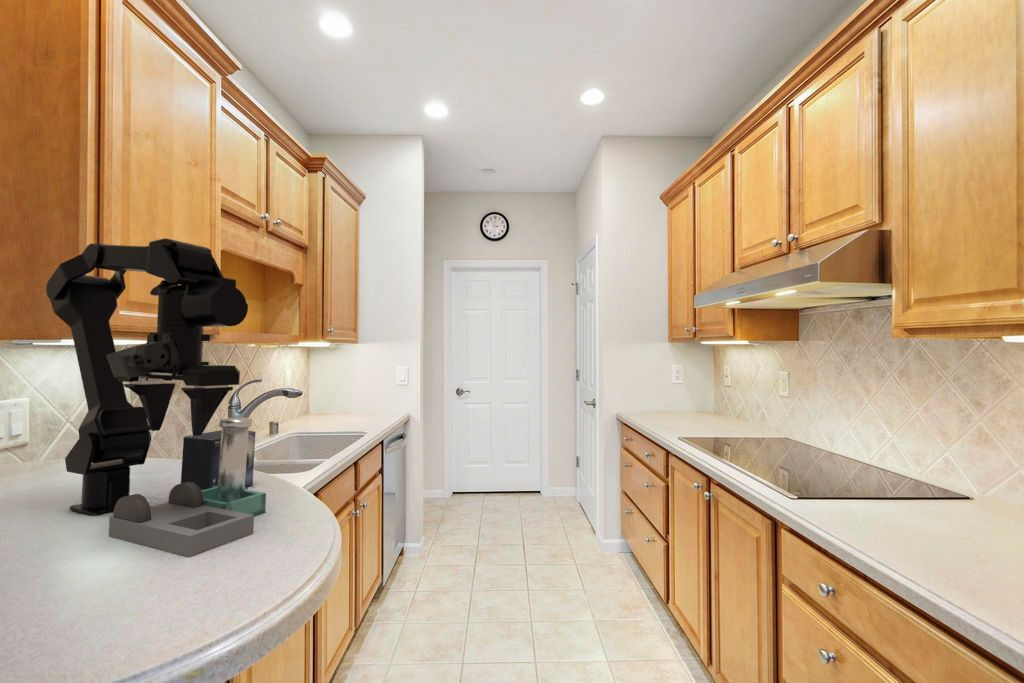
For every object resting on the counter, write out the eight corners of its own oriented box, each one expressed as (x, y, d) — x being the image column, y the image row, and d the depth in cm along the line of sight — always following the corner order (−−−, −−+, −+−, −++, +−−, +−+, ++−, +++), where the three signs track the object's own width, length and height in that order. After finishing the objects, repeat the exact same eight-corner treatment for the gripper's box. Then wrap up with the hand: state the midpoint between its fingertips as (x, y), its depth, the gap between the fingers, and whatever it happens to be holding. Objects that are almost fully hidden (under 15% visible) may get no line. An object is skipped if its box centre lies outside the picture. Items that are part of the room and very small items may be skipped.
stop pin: (206, 514, 73) (213, 420, 73) (224, 506, 77) (230, 417, 78) (235, 516, 73) (241, 421, 73) (251, 507, 77) (257, 418, 78)
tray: (179, 515, 74) (180, 495, 74) (220, 503, 80) (221, 485, 81) (225, 525, 70) (226, 504, 71) (265, 512, 77) (266, 493, 77)
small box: (210, 501, 82) (212, 438, 82) (177, 498, 83) (180, 436, 83) (255, 485, 92) (257, 430, 92) (225, 483, 93) (227, 428, 94)
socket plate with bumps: (108, 536, 66) (110, 493, 66) (176, 516, 74) (178, 479, 74) (189, 557, 59) (191, 510, 60) (253, 533, 68) (254, 492, 68)
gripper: (78, 323, 68) (72, 435, 68) (166, 322, 61) (160, 447, 61) (161, 328, 79) (156, 425, 78) (244, 328, 72) (240, 435, 71)
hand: (175, 432), depth 72 cm, fingers open, 9 cm apart
